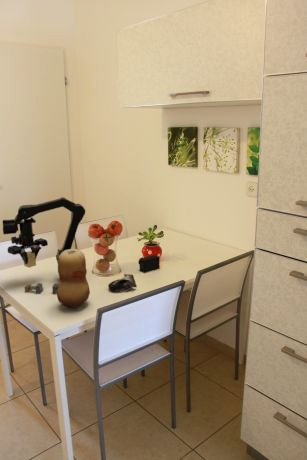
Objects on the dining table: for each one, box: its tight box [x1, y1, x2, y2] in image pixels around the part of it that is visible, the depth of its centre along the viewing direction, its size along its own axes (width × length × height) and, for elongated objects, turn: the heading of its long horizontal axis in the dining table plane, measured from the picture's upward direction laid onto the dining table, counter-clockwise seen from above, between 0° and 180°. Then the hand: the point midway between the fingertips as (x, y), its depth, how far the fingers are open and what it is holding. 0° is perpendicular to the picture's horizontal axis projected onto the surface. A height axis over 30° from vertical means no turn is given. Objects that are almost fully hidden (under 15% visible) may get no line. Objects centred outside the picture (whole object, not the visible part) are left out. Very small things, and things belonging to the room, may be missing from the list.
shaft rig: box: [23, 282, 60, 295], centre depth 182 cm, size 22×4×4 cm, turn 87°
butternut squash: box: [56, 248, 91, 308], centre depth 165 cm, size 14×13×25 cm
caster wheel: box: [108, 273, 138, 293], centre depth 183 cm, size 7×11×10 cm
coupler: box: [23, 250, 37, 268], centre depth 189 cm, size 4×4×6 cm
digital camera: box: [138, 254, 161, 274], centre depth 208 cm, size 10×5×7 cm, turn 127°
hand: (30, 262), depth 189 cm, fingers closed on coupler, 4 cm apart
